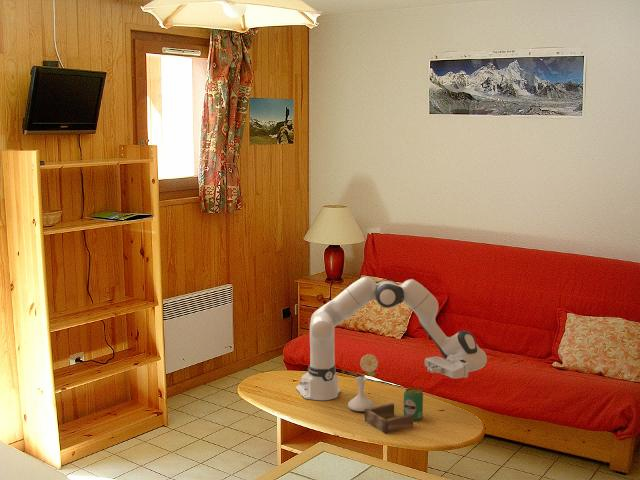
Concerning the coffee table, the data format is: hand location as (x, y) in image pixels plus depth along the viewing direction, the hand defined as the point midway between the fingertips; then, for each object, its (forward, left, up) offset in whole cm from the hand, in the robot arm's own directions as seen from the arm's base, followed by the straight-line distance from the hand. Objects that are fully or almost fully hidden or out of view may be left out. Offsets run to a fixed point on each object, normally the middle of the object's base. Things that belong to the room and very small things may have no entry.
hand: (429, 370), depth 322 cm
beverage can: (0, -8, -20) cm, 21 cm away
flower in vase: (-19, -21, -20) cm, 35 cm away
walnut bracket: (0, -21, -19) cm, 28 cm away
